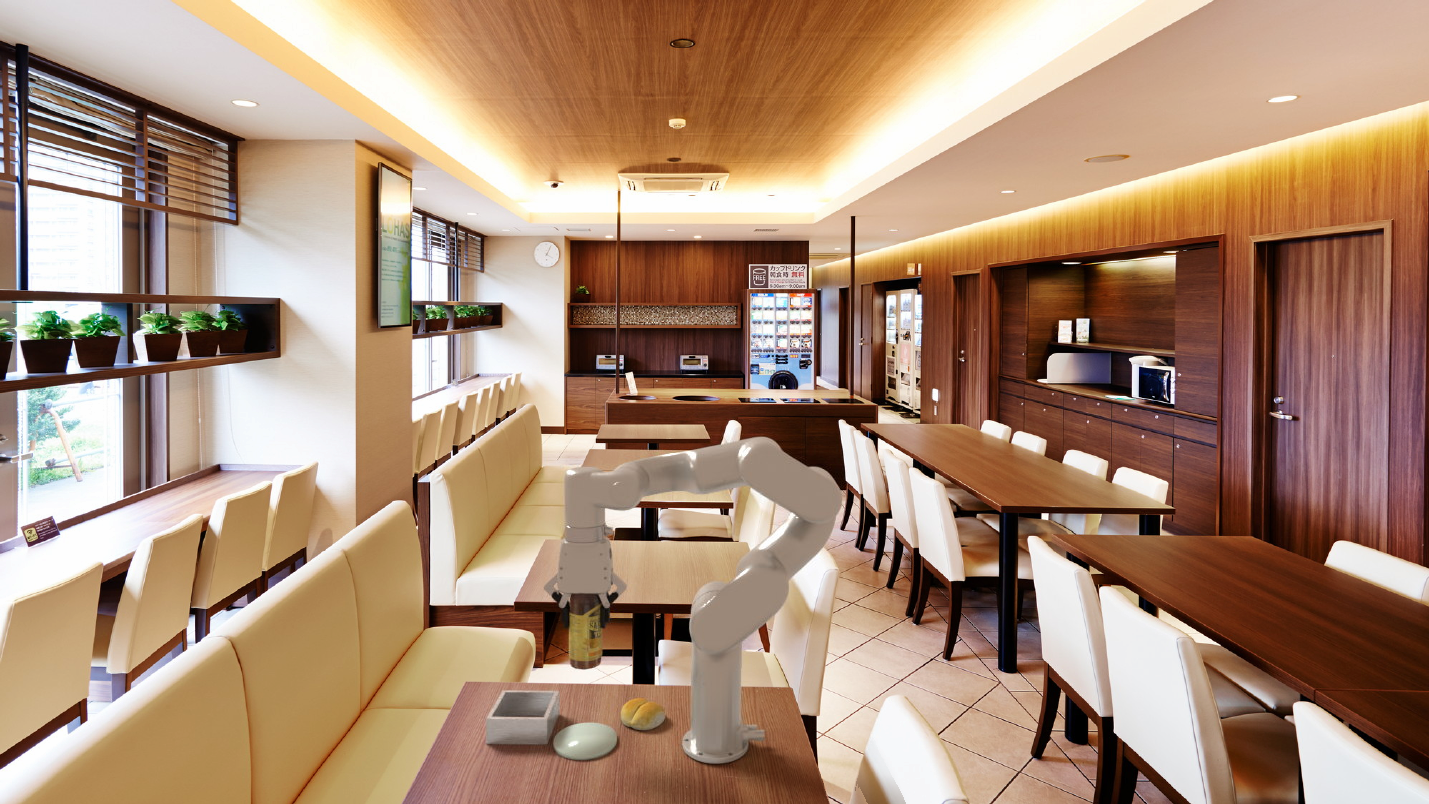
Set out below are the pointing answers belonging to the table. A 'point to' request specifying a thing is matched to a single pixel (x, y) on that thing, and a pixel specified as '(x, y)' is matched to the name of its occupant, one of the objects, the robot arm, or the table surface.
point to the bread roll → (642, 714)
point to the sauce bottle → (585, 631)
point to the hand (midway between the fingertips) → (585, 625)
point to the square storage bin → (522, 727)
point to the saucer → (585, 741)
